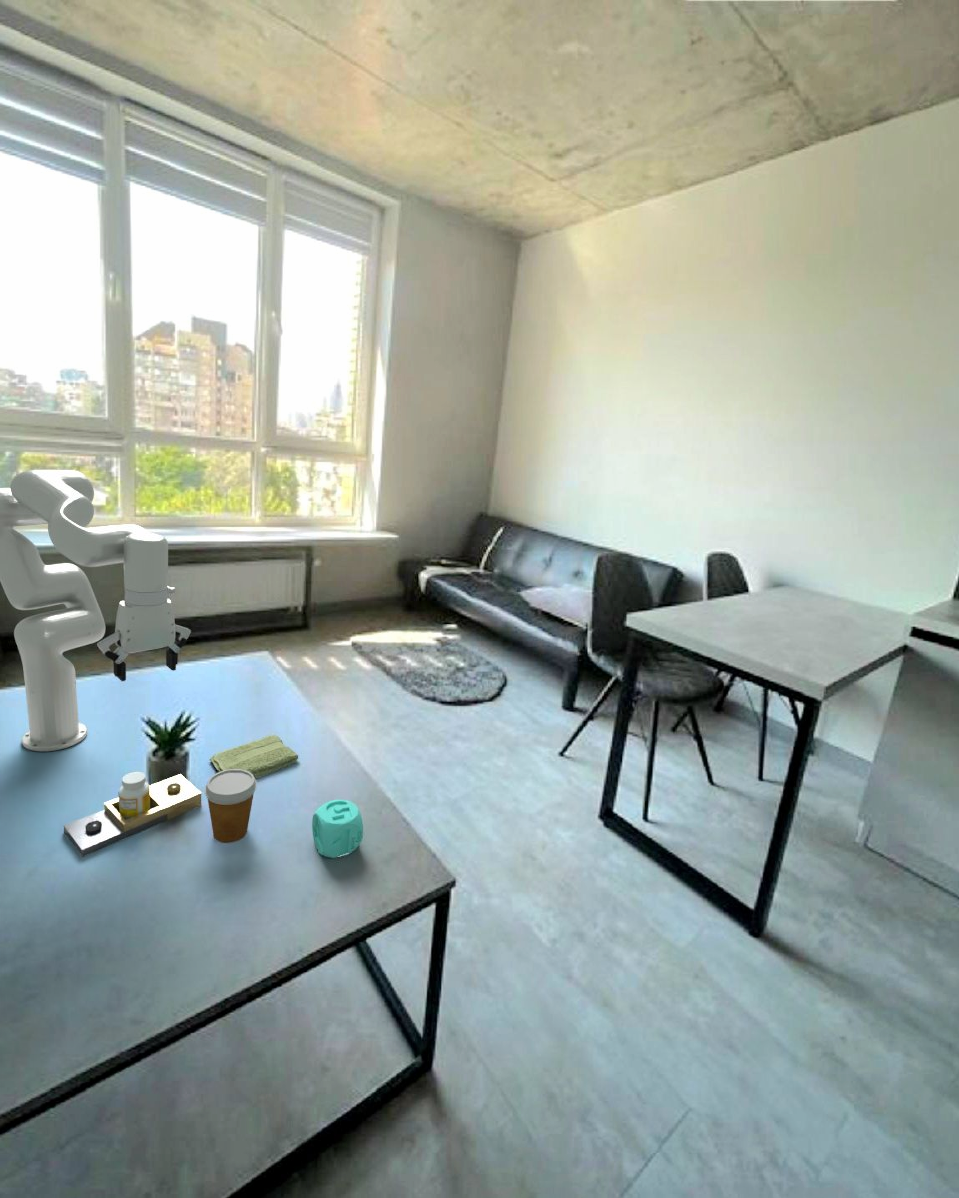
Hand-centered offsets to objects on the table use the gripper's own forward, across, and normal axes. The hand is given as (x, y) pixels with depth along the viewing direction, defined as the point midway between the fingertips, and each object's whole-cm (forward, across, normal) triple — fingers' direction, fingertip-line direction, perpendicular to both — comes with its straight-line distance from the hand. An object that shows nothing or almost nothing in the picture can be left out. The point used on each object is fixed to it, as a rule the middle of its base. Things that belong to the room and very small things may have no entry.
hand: (146, 673), depth 118 cm
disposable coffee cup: (+26, -5, +26) cm, 37 cm away
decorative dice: (+25, -19, +43) cm, 53 cm away
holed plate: (+26, +6, +11) cm, 29 cm away
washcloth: (+27, -22, +7) cm, 35 cm away
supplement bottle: (+27, +6, +10) cm, 29 cm away
